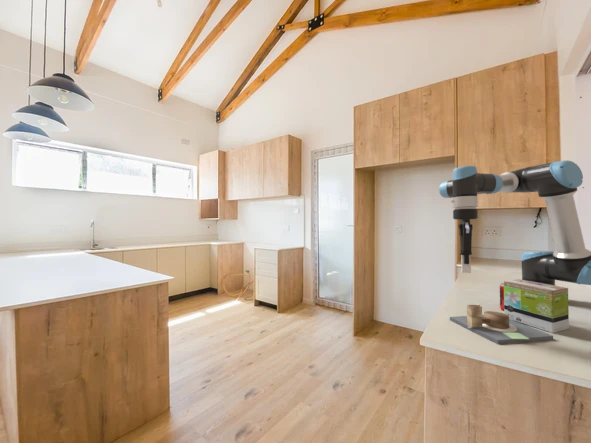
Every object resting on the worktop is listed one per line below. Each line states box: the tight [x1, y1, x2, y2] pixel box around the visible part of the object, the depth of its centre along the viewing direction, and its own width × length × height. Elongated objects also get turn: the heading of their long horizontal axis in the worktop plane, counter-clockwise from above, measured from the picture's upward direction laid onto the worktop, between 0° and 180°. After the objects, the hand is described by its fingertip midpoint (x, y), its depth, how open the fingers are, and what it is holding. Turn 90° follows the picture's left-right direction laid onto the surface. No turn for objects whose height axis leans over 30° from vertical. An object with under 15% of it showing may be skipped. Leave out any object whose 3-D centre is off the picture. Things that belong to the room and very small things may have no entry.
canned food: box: [499, 282, 504, 312], centre depth 107 cm, size 8×8×11 cm
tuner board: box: [449, 314, 554, 345], centre depth 89 cm, size 21×21×1 cm
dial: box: [465, 303, 509, 329], centre depth 89 cm, size 15×7×8 cm, turn 98°
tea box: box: [503, 278, 570, 334], centre depth 94 cm, size 15×10×15 cm, turn 21°
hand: (466, 272), depth 93 cm, fingers closed
